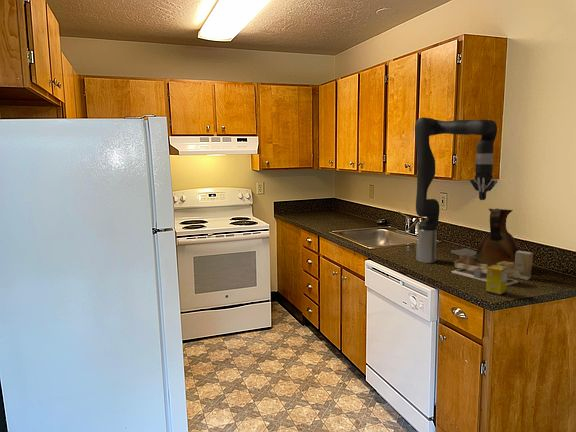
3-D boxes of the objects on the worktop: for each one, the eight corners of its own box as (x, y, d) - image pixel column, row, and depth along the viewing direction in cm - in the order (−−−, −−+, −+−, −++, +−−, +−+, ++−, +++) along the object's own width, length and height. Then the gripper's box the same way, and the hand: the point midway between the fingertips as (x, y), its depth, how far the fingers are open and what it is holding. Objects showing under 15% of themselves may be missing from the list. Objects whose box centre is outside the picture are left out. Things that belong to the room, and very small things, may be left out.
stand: (451, 272, 209) (451, 264, 208) (464, 269, 215) (464, 261, 214) (505, 286, 187) (505, 277, 186) (518, 282, 192) (518, 273, 192)
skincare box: (513, 277, 199) (514, 251, 197) (516, 275, 202) (518, 250, 200) (528, 280, 195) (530, 253, 193) (531, 278, 198) (533, 252, 196)
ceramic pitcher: (521, 265, 220) (525, 207, 215) (516, 275, 203) (520, 212, 199) (480, 260, 231) (483, 204, 226) (472, 269, 214) (475, 209, 210)
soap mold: (466, 252, 252) (466, 246, 252) (489, 260, 233) (489, 254, 233) (450, 253, 250) (450, 247, 250) (472, 261, 231) (473, 255, 230)
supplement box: (492, 289, 183) (493, 264, 181) (506, 292, 178) (508, 267, 177) (485, 292, 179) (486, 267, 177) (500, 296, 175) (501, 269, 173)
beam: (454, 266, 209) (454, 255, 209) (463, 264, 213) (463, 253, 212) (506, 277, 187) (506, 265, 187) (515, 275, 191) (515, 262, 191)
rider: (459, 264, 208) (459, 254, 208) (464, 263, 211) (464, 253, 210) (468, 266, 204) (468, 256, 204) (473, 265, 206) (474, 254, 206)
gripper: (466, 163, 206) (465, 199, 209) (492, 163, 195) (490, 201, 198) (476, 162, 210) (474, 198, 213) (502, 163, 199) (500, 200, 202)
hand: (482, 199), depth 205 cm, fingers closed
